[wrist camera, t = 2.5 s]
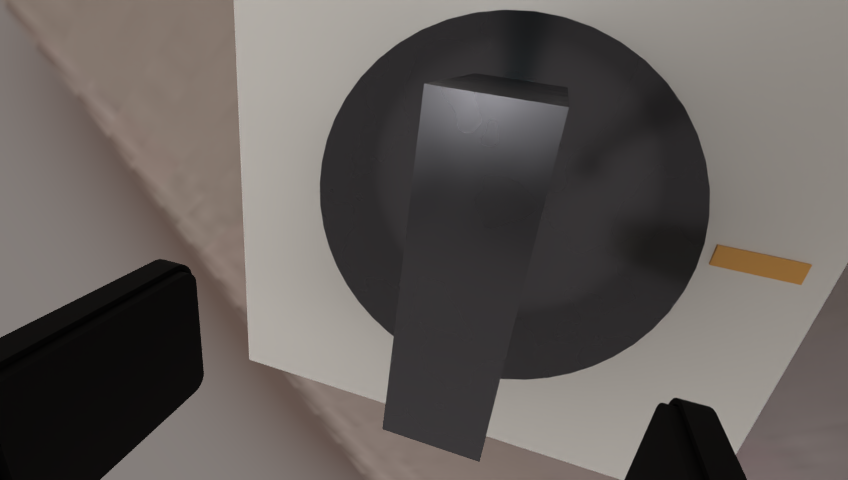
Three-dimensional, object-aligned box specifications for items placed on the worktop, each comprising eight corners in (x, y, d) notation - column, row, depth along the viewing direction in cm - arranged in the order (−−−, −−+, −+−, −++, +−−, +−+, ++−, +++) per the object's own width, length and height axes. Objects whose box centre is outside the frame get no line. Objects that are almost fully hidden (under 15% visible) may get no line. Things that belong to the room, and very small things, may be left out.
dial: (346, -9, 17) (195, -52, 10) (769, 43, 14) (967, 33, 7) (331, 310, 22) (229, 421, 16) (625, 394, 19) (657, 575, 13)
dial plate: (1017, -125, 12) (1096, -157, 11) (694, 471, 22) (706, 509, 21) (260, -162, 17) (223, -188, 16) (270, 339, 27) (247, 360, 26)
